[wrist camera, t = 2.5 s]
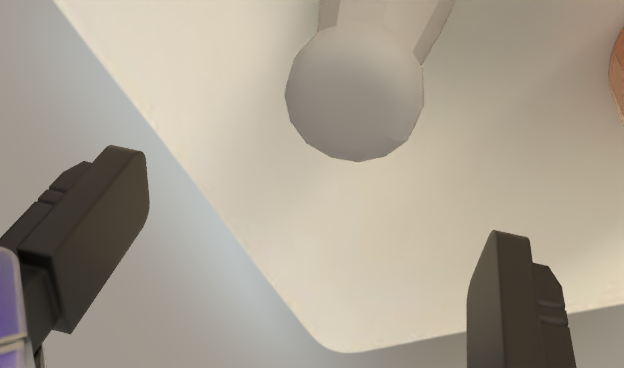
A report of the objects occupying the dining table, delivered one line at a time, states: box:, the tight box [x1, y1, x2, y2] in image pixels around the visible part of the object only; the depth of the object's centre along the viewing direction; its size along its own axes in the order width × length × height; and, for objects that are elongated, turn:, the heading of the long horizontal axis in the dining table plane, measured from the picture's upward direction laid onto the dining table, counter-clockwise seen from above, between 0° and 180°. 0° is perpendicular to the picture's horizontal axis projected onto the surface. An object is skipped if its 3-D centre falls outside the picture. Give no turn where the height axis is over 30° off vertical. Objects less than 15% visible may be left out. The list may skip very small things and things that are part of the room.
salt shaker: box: [285, 0, 453, 162], centre depth 22 cm, size 6×6×13 cm
